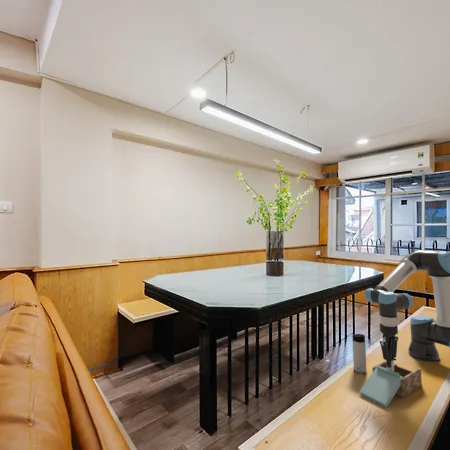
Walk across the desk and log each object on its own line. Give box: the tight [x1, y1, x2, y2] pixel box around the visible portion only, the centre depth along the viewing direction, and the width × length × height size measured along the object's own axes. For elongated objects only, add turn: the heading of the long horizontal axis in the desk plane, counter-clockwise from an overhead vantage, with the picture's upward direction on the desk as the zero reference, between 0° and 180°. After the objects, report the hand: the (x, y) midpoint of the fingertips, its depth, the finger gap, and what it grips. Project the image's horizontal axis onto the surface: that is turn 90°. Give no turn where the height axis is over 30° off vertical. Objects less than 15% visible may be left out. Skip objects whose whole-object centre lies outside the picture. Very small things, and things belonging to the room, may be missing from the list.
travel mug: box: [352, 333, 368, 375], centre depth 149 cm, size 6×7×20 cm
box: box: [371, 360, 423, 400], centre depth 135 cm, size 18×14×8 cm
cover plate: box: [359, 364, 403, 409], centre depth 127 cm, size 17×12×4 cm
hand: (390, 373), depth 132 cm, fingers closed
